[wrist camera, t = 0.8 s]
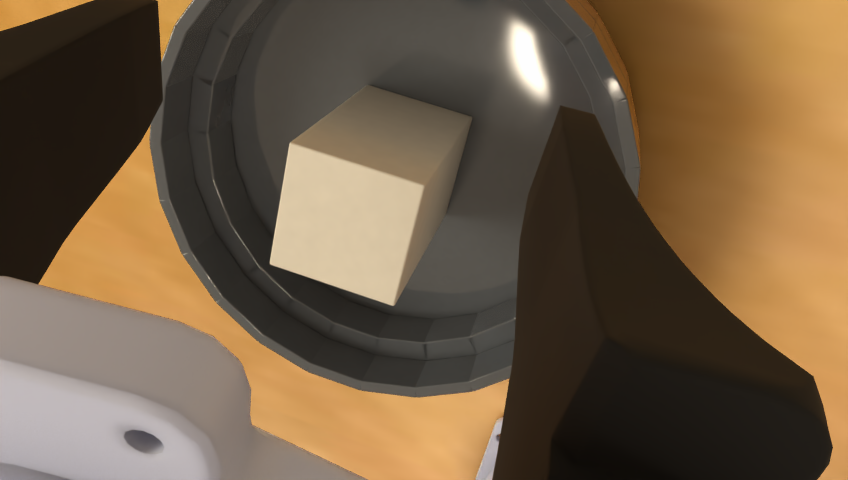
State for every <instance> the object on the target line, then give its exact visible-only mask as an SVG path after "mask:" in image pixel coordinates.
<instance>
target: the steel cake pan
mask: <svg viewBox="0 0 848 480" xmlns="http://www.w3.org/2000/svg"><path fill="white" fill-rule="evenodd" d="M161 69H162V87H163V101H162V103H161V105H160V107H159V109H158V111H157V113H156V115H155V117H154V119H153V121H152V123H151V127H150V149H151V155H152V160H153V166H154V172H155V178H156V184H157V190H158V196H159V200H160V203H161V206H162V208H163V210H164V213H165V215H166V218H167V220H168V222H169V225H170V227H171V230H172V232H173V234H174V237H175V239H176V241H177V244H178V246H179V249H180V251H181V253H182V254H183V256H184V258H185V259H186V261H187V262H188V264H189V265H190V266H191V268H192V269H193V271H194V272H195V273H196V275H197V276H198V278H199V279H200V281H201V282H202V283H203V285H204V286H205V288H206V289H207V291H208V292H209V293H210V295H211V296H212V298H213V299H214V301H215V302H216V303H217V304H218V305H219V306H220V307H221V308H222V309H223V310H225V311H226V312H227V313H228V314H229V315H230V316H231V317H232V318H233V319H234V320H235V321H236V322H237V323H238V324H240V325H241V326H242V327H243V328H244V329H245V330H246V331H247V332H248V333H249V334H250V335H251V336H252V337H253V338H255V339H256V340H257V341H259V343H261V344H262V345H264V346H266V347H267V348H269V349H271V350H272V351H274V352H276V353H277V354H279V355H281V356H282V357H284V358H285V359H287V360H289V361H290V362H292V363H294V364H295V365H297V366H299V367H300V368H302V369H304V370H305V371H308V372H309V373H312V374H315V375H318V376H321V377H324V378H326V379H329V380H332V381H335V382H338V383H341V384H343V385H346V386H349V387H352V388H355V389H358V390H362V391H368V392H376V393H384V394H392V395H400V396H408V397H427V396H437V395H446V394H455V393H465V392H472V391H476V390H479V389H481V388H484V387H487V386H490V385H492V384H495V383H498V382H500V381H503V380H506V379H509V378H510V374H511V368H512V361H513V351H514V341H515V321H516V300H517V279H518V259H519V242H520V235H521V230H522V224H523V218H524V213H525V208H526V203H527V197H528V193H529V191H530V188H531V185H532V182H533V180H534V177H535V174H536V171H537V168H538V166H539V163H540V160H541V157H542V155H543V152H544V149H545V146H546V144H547V141H548V138H549V135H550V133H551V130H552V127H553V124H554V122H555V119H556V116H557V113H558V111H559V108H560V105H561V106H565V107H569V108H573V109H577V110H581V111H584V112H588V113H592V114H595V116H596V118H597V120H598V122H599V124H600V126H601V128H602V130H603V132H604V135H605V137H606V139H607V141H608V143H609V146H610V148H611V150H612V152H613V154H614V156H615V158H616V160H617V162H618V164H619V166H620V168H621V170H622V172H623V174H624V176H625V178H626V180H627V182H628V184H629V185H630V187H631V189H632V191H633V193H634V195H635V196H636V198H637V200H638V193H639V183H640V172H641V162H640V142H639V129H638V123H637V118H636V113H635V107H634V102H633V97H632V92H631V86H630V81H629V76H628V73H627V69H626V67H625V65H624V63H623V61H622V59H621V57H620V55H619V53H618V51H617V49H616V47H615V45H614V43H613V41H612V39H611V37H610V35H609V33H608V31H607V29H606V27H605V25H604V23H603V21H602V19H601V17H600V15H599V14H597V11H596V10H595V9H594V8H593V7H592V5H591V4H590V3H589V2H588V1H587V0H193V1H192V2H191V3H190V5H189V6H188V7H187V9H186V10H185V11H184V13H183V14H182V16H181V17H180V18H179V20H178V21H177V22H176V24H175V26H174V28H173V31H172V34H171V37H170V39H169V42H168V45H167V48H166V50H165V53H164V56H163V59H162V61H161ZM367 85H370V86H373V87H376V88H379V89H383V90H386V91H389V92H393V93H396V94H399V95H402V96H406V97H409V98H412V99H415V100H419V101H422V102H425V103H428V104H432V105H435V106H438V107H441V108H445V109H448V110H451V111H454V112H458V113H461V114H464V115H468V116H471V117H472V121H471V125H470V128H469V132H468V136H467V139H466V143H465V146H464V150H463V154H462V157H461V161H460V165H459V168H458V172H457V175H456V179H455V183H454V186H453V190H452V193H451V197H450V201H449V204H448V208H447V212H446V215H445V217H444V219H443V220H442V222H441V224H440V226H439V227H438V229H437V231H436V233H435V234H434V236H433V238H432V240H431V242H430V243H429V245H428V247H427V249H426V250H425V252H424V254H423V256H422V258H421V259H420V261H419V263H418V265H417V266H416V268H415V270H414V272H413V273H412V275H411V277H410V279H409V281H408V282H407V284H406V286H405V288H404V289H403V291H402V293H401V295H400V297H399V298H398V300H397V302H396V304H395V305H394V306H391V305H388V304H385V303H383V302H380V301H377V300H374V299H371V298H368V297H365V296H362V295H359V294H356V293H353V292H350V291H347V290H344V289H341V288H338V287H335V286H332V285H329V284H326V283H323V282H320V281H318V280H315V279H312V278H309V277H306V276H303V275H300V274H297V273H294V272H291V271H288V270H285V269H282V268H279V267H276V266H273V265H271V264H270V258H271V252H272V246H273V240H274V234H275V228H276V222H277V216H278V210H279V204H280V198H281V192H282V186H283V180H284V174H285V168H286V162H287V155H288V149H289V144H290V142H292V141H293V140H294V139H296V138H297V137H298V136H300V135H301V134H302V133H304V132H305V131H306V130H308V129H309V128H310V127H312V126H313V125H314V124H316V123H317V122H318V121H320V120H321V119H322V118H324V117H325V116H326V115H328V114H329V113H330V112H332V111H333V110H334V109H336V108H337V107H338V106H340V105H341V104H343V103H344V102H345V101H347V100H348V99H349V98H351V97H352V96H353V95H355V94H356V93H357V92H359V91H360V90H361V89H363V88H364V87H365V86H367Z"/></svg>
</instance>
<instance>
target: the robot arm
mask: <svg viewBox="0 0 848 480" xmlns="http://www.w3.org/2000/svg"><path fill="white" fill-rule="evenodd" d="M162 101H163V87H162V69H161V51H160V33H159V15H158V1H156V0H94V1H91V2H88V3H85V4H82V5H79V6H76V7H73V8H70V9H67V10H64V11H61V12H58V13H55V14H53V15H50V16H47V17H44V18H41V19H38V20H35V21H32V22H29V23H26V24H23V25H20V26H17V27H13V28H10V29H7V30H3V31H0V480H367V479H365V478H363V477H361V476H359V475H357V474H355V473H353V472H351V471H348V470H346V469H344V468H342V467H340V466H338V465H336V464H334V463H332V462H329V461H327V460H325V459H323V458H321V457H319V456H317V455H315V454H313V453H310V452H308V451H306V450H304V449H302V448H300V447H298V446H296V445H294V444H292V443H289V442H287V441H285V440H283V439H281V438H279V437H277V436H275V435H273V434H270V433H268V432H266V431H264V430H262V429H260V428H258V427H256V426H254V425H252V424H251V418H250V403H251V388H250V385H249V382H248V379H247V377H246V374H245V371H244V368H243V365H242V363H241V362H240V361H239V359H238V358H237V357H236V356H234V355H233V354H232V353H231V352H230V351H229V350H228V349H227V348H226V347H225V346H223V345H222V344H221V343H220V342H219V341H218V340H217V339H216V338H215V337H214V336H211V335H209V334H207V333H205V332H202V331H200V330H198V329H195V328H193V327H191V326H188V325H186V324H184V323H182V322H179V321H176V320H172V319H169V318H165V317H161V316H157V315H153V314H149V313H146V312H142V311H138V310H134V309H130V308H126V307H123V306H119V305H115V304H111V303H107V302H103V301H100V300H96V299H92V298H88V297H84V296H80V295H77V294H73V293H69V292H65V291H61V290H57V289H54V288H50V287H46V286H42V285H38V284H39V282H40V280H41V279H42V277H43V275H44V274H45V272H46V270H47V269H48V267H49V265H50V264H51V262H52V260H53V259H54V257H55V255H56V254H57V252H58V250H59V249H60V247H61V245H62V244H63V242H64V241H65V239H66V238H67V237H68V235H69V234H70V232H71V231H72V230H73V228H74V227H75V225H76V224H77V223H78V222H79V220H80V219H81V218H82V216H83V215H84V214H85V213H86V211H87V210H88V209H89V208H90V206H91V205H92V204H93V203H94V201H95V200H96V199H97V197H98V196H99V195H100V194H101V192H102V191H103V190H104V189H105V187H106V186H107V185H108V184H109V182H110V181H111V180H112V178H113V177H114V176H115V175H116V173H117V172H118V171H119V170H120V168H121V167H122V166H123V164H124V163H125V162H126V160H127V159H128V158H129V157H130V155H131V154H132V153H133V151H134V150H135V149H136V147H137V146H138V145H139V143H140V142H141V140H142V138H143V137H144V135H145V133H146V131H147V130H148V128H149V126H150V124H151V123H152V121H153V119H154V117H155V115H156V113H157V111H158V109H159V107H160V105H161V103H162ZM499 434H500V436H499ZM832 448H833V447H832V442H831V438H830V434H829V430H828V426H827V421H826V416H825V412H824V408H823V404H822V401H821V398H820V395H819V392H818V389H817V386H816V383H815V380H814V377H813V376H812V375H811V374H809V373H808V372H807V371H805V370H804V369H802V368H801V367H800V366H798V365H797V364H796V363H794V362H793V361H792V360H790V359H789V358H787V357H786V356H785V355H783V354H782V353H781V352H779V351H778V350H776V349H775V348H774V347H772V346H771V345H770V344H768V343H767V342H766V341H764V340H763V339H762V338H761V337H759V336H758V335H757V334H756V333H755V332H753V331H752V330H751V329H750V328H749V327H748V326H746V325H745V324H744V323H743V322H742V321H741V320H739V319H738V318H737V317H736V316H735V315H734V314H732V313H731V312H730V311H729V310H728V309H727V308H726V307H725V306H724V305H723V304H722V303H721V302H720V301H719V300H718V299H716V298H715V297H714V296H713V294H712V293H711V292H710V291H709V290H708V289H707V288H706V287H705V286H704V285H703V284H702V283H701V282H700V281H699V280H698V279H697V278H696V277H695V276H694V275H693V274H692V273H691V271H690V270H689V269H688V268H687V267H686V266H685V265H684V263H683V262H682V261H681V260H680V259H679V257H678V256H677V255H676V254H675V252H674V251H673V250H672V249H671V247H670V246H669V245H668V243H667V242H666V241H665V240H664V238H663V237H662V236H661V234H660V233H659V232H658V230H657V229H656V227H655V226H654V225H653V223H652V222H651V220H650V218H649V217H648V215H647V214H646V212H645V211H644V209H643V208H642V206H641V204H640V203H639V201H638V200H637V198H636V196H635V195H634V193H633V191H632V189H631V187H630V185H629V184H628V182H627V180H626V178H625V176H624V174H623V172H622V170H621V168H620V166H619V164H618V162H617V160H616V158H615V156H614V154H613V152H612V150H611V148H610V146H609V143H608V141H607V139H606V137H605V135H604V132H603V130H602V128H601V126H600V124H599V122H598V120H597V118H596V116H595V114H592V113H588V112H584V111H581V110H577V109H573V108H569V107H565V106H561V105H560V108H559V111H558V113H557V116H556V119H555V122H554V124H553V127H552V130H551V133H550V135H549V138H548V141H547V144H546V146H545V149H544V152H543V155H542V157H541V160H540V163H539V166H538V168H537V171H536V174H535V177H534V180H533V182H532V185H531V188H530V191H529V193H528V197H527V203H526V208H525V213H524V218H523V224H522V230H521V235H520V242H519V259H518V279H517V300H516V321H515V341H514V351H513V361H512V368H511V374H510V380H509V386H508V392H507V398H506V405H505V410H504V416H503V417H501V418H499V419H497V421H496V423H495V425H494V428H493V431H492V434H491V436H490V439H489V442H488V445H487V448H486V450H485V453H484V456H483V459H482V462H481V464H480V467H479V470H478V473H477V476H476V478H475V480H817V479H818V478H819V477H820V475H821V474H822V473H823V471H824V470H825V469H826V467H827V466H828V465H829V462H830V458H831V453H832Z"/></svg>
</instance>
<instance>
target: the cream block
mask: <svg viewBox="0 0 848 480" xmlns="http://www.w3.org/2000/svg"><path fill="white" fill-rule="evenodd" d="M471 121H472V117H471V116H468V115H464V114H461V113H458V112H454V111H451V110H448V109H445V108H441V107H438V106H435V105H432V104H428V103H425V102H422V101H419V100H415V99H412V98H409V97H406V96H402V95H399V94H396V93H393V92H389V91H386V90H383V89H379V88H376V87H373V86H370V85H367V86H365V87H364V88H363V89H361V90H360V91H359V92H357V93H356V94H355V95H353V96H352V97H351V98H349V99H348V100H347V101H345V102H344V103H343V104H341V105H340V106H338V107H337V108H336V109H334V110H333V111H332V112H330V113H329V114H328V115H326V116H325V117H324V118H322V119H321V120H320V121H318V122H317V123H316V124H314V125H313V126H312V127H310V128H309V129H308V130H306V131H305V132H304V133H302V134H301V135H300V136H298V137H297V138H296V139H294V140H293V141H292V142H290V144H289V149H288V155H287V162H286V168H285V174H284V180H283V186H282V192H281V198H280V204H279V210H278V216H277V222H276V228H275V234H274V240H273V246H272V252H271V258H270V264H271V265H273V266H276V267H279V268H282V269H285V270H288V271H291V272H294V273H297V274H300V275H303V276H306V277H309V278H312V279H315V280H318V281H320V282H323V283H326V284H329V285H332V286H335V287H338V288H341V289H344V290H347V291H350V292H353V293H356V294H359V295H362V296H365V297H368V298H371V299H374V300H377V301H380V302H383V303H385V304H388V305H391V306H394V305H395V304H396V302H397V300H398V298H399V297H400V295H401V293H402V291H403V289H404V288H405V286H406V284H407V282H408V281H409V279H410V277H411V275H412V273H413V272H414V270H415V268H416V266H417V265H418V263H419V261H420V259H421V258H422V256H423V254H424V252H425V250H426V249H427V247H428V245H429V243H430V242H431V240H432V238H433V236H434V234H435V233H436V231H437V229H438V227H439V226H440V224H441V222H442V220H443V219H444V217H445V215H446V212H447V208H448V204H449V201H450V197H451V193H452V190H453V186H454V183H455V179H456V175H457V172H458V168H459V165H460V161H461V157H462V154H463V150H464V146H465V143H466V139H467V136H468V132H469V128H470V125H471Z"/></svg>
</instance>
